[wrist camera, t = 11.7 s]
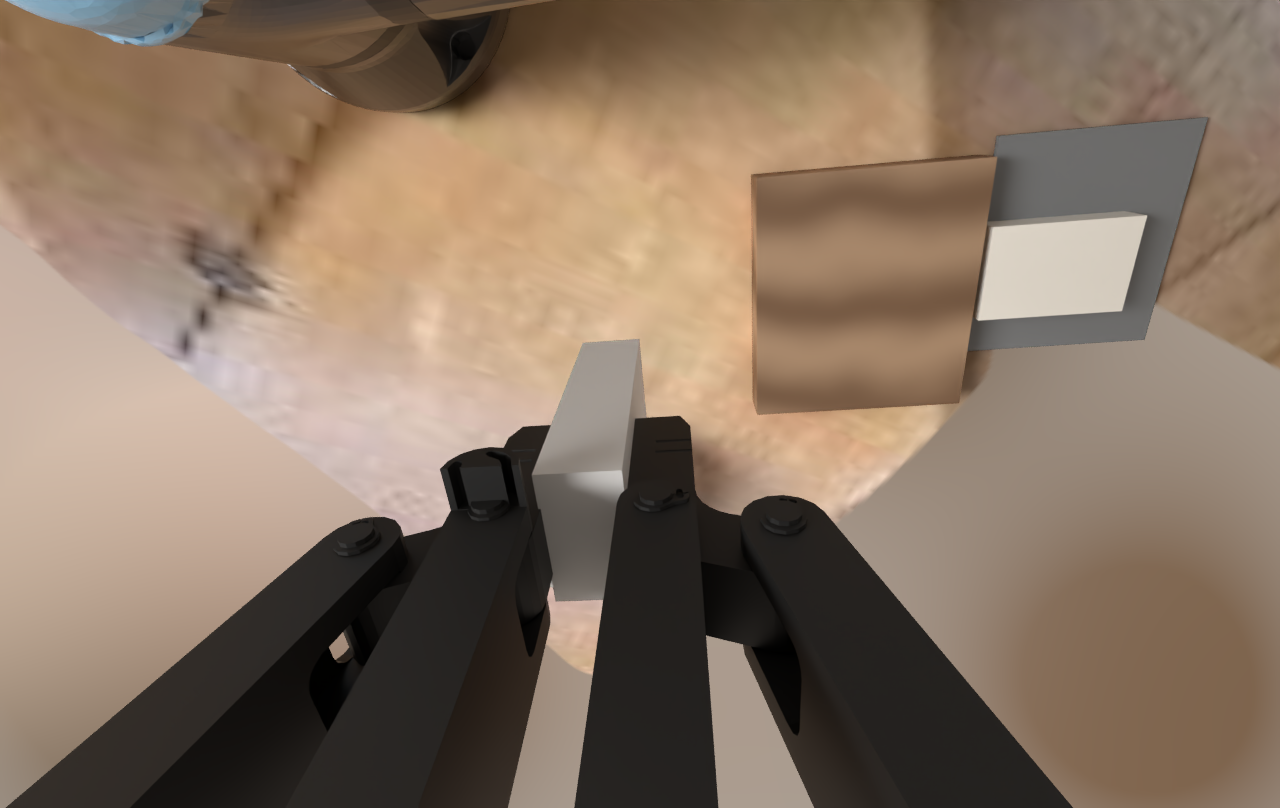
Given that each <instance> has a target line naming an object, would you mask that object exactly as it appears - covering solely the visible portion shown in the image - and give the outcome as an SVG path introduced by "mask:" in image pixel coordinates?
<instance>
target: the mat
mask: <svg viewBox="0 0 1280 808" xmlns="http://www.w3.org/2000/svg"><path fill="white" fill-rule="evenodd" d="M1207 119H1208V117H1203V118H1191V119H1180V120H1169V121H1158V122H1147V123H1136V124H1124V125H1113V126H1102V127H1091V128H1080V129H1069V130H1057V131H1046V132H1035V133H1024V134H1013V135H1002V136H997V137H996V143H995V150H994V157H997V163H996V169H995V176H994V182H993V189H992V195H991V201H990V208H989V214H988V221H987V222H990V221H1003V220H1016V219H1029V218H1042V217H1054V216H1067V215H1080V214H1093V213H1106V212H1118V211H1127V212H1132V213H1138V214H1143V215H1147V219H1146V222H1145V226H1144V230H1143V234H1142V237H1141V241H1140V245H1139V249H1138V253H1137V256H1136V260H1135V264H1134V268H1133V271H1132V275H1131V279H1130V283H1129V287H1128V290H1127V294H1126V298H1125V302H1124V305H1123V309H1122V311H1116V312H1100V313H1085V314H1070V315H1055V316H1040V317H1025V318H1010V319H995V320H980V321H978V320H977V319H975V318H973V317H972V324H971V330H970V337H969V343H968V350H967V351H976V350H991V349H1007V348H1022V347H1038V346H1054V345H1069V344H1085V343H1100V342H1115V341H1132V340H1144V339H1145V336H1146V333H1147V329H1148V325H1149V322H1150V319H1151V315H1152V312H1153V308H1154V305H1155V301H1156V298H1157V294H1158V291H1159V287H1160V284H1161V280H1162V277H1163V273H1164V270H1165V266H1166V263H1167V259H1168V256H1169V252H1170V249H1171V245H1172V242H1173V238H1174V235H1175V231H1176V228H1177V224H1178V221H1179V217H1180V214H1181V210H1182V207H1183V203H1184V200H1185V196H1186V193H1187V189H1188V186H1189V182H1190V179H1191V175H1192V172H1193V168H1194V165H1195V161H1196V158H1197V154H1198V151H1199V147H1200V144H1201V140H1202V137H1203V133H1204V130H1205V126H1206V123H1207Z"/></svg>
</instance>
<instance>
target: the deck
mask: <svg viewBox="0 0 1280 808" xmlns="http://www.w3.org/2000/svg"><path fill="white" fill-rule="evenodd" d="M996 163H997V157H994V156H983V155H971V156H959V157H948V158H936V159H925V160H914V161H902V162H891V163H879V164H868V165H857V166H845V167H834V168H822V169H811V170H799V171H788V172H777V173H765V174H754V175H751V198H752V357H753V403H754V406H755V409H756V412H757V415H763V414H780V413H797V412H815V411H832V410H849V409H867V408H884V407H901V406H919V405H936V404H953V403H959V401H960V395H961V388H962V382H963V375H964V369H965V362H966V356H967V350H968V343H969V337H970V330H971V324H972V317H973V311H974V305H975V298H976V292H977V285H978V279H979V272H980V266H981V259H982V253H983V247H984V240H985V234H986V227H987V221H988V214H989V208H990V201H991V195H992V189H993V182H994V176H995V169H996Z"/></svg>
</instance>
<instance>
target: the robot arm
mask: <svg viewBox="0 0 1280 808" xmlns="http://www.w3.org/2000/svg"><path fill="white" fill-rule="evenodd" d="M6 1H8V2H10V3H12V4H14V5H16V6H18V7H20V8H22V9H24V10H26V11H28V12H31V13H33V14H35V15H38V16H41V17H44V18H46V19H49V20H52V21H55V22H59V23H62V24H66V25H71V26H75V27H79V28H83V29H87V30H90V31H93V32H95V33H97V34H98V35H100V36H104V37H108V38H110V39H111V40H113V41H115V42H118V43H121V44H135V45H138V46H158V45H170V46H176V47H183V48H189V49H195V50H202V51H208V52H215V53H221V54H227V55H234V56H240V57H247V58H253V59H259V60H266V61H272V62H279V63H285V64H288V65H289V66H290V67H291V68H292V69H293V70H294V71H296V72H297V73H298V74H299V75H300V76H302V77H303V78H304V79H305V80H306V81H308V82H309V83H311V84H312V85H313V86H315V87H316V88H318V89H320V90H321V91H323V92H325V93H326V94H328V95H330V96H332V97H334V98H336V99H339V100H341V101H343V102H346V103H348V104H351V105H354V106H357V107H361V108H364V109H369V110H374V111H384V112H417V111H423V110H427V109H431V108H434V107H437V106H440V105H442V104H444V103H447V102H449V101H450V100H452V99H454V98H456V97H457V96H459V95H460V94H462V93H463V92H464V91H465V90H467V89H468V88H469V87H470V86H471V85H472V84H473V83H474V82H475V81H476V80H477V79H478V78H479V77H480V76H481V74H482V73H483V72H484V70H485V69H486V68H487V66H488V65H489V63H490V61H491V60H492V58H493V56H494V54H495V53H496V51H497V48H498V46H499V44H500V42H501V39H502V36H503V33H504V30H505V27H506V23H507V19H508V14H509V9H510V8H512V7H518V6H524V5H530V4H536V3H542V2H548V1H554V0H6ZM440 471H441V474H442V478H443V482H444V486H445V489H446V493H447V497H448V501H449V505H450V508H451V512H450V513H449V515H448V517H447V519H446V521H445V522H444V524H443V526H442V527H439V528H436V529H433V530H429V531H425V532H421V533H417V534H413V535H409V536H405V537H403V533H402V530H401V527H400V526H399V524H398V523H397V522H396V521H395V520H393V519H389V518H386V517H370V518H363V519H359V520H356V521H352V522H350V523H349V524H347V525H344V526H342V527H340V528H338V529H336V530H335V531H333V532H332V533H330V534H329V535H328V536H326V537H325V538H323V539H322V540H321V541H320V542H319V543H318V544H316V545H315V546H314V547H313V548H312V549H310V550H309V551H308V552H307V553H306V554H304V555H303V556H302V557H301V558H300V559H299V560H297V561H296V562H295V563H294V564H293V565H292V566H290V567H289V568H288V569H287V570H286V571H284V572H283V573H282V574H281V575H280V576H279V577H277V578H276V579H275V580H274V581H273V582H271V583H270V584H269V585H268V586H267V587H266V588H264V589H263V590H262V591H261V592H260V593H259V594H257V595H256V596H255V597H254V598H253V599H252V600H250V601H249V602H248V603H247V604H246V605H244V606H243V607H242V608H241V609H240V610H238V611H237V612H236V613H235V614H234V615H233V616H231V617H230V618H229V619H228V620H227V621H225V622H224V623H223V624H222V625H221V626H220V627H218V628H217V629H216V630H215V631H214V632H212V633H211V634H210V635H209V636H208V637H207V638H205V639H204V640H203V641H202V642H201V643H200V644H198V645H197V646H196V647H195V648H194V649H192V650H191V651H190V652H189V653H188V654H187V655H185V656H184V657H183V658H182V659H181V660H180V661H179V662H177V663H176V664H175V665H174V666H172V667H171V668H170V669H169V670H168V671H166V673H164V674H163V675H162V676H161V677H160V678H158V679H157V680H156V681H155V682H153V683H152V684H151V685H150V686H149V687H148V688H146V689H145V690H144V691H143V692H142V693H141V694H139V695H138V696H137V697H136V698H135V699H133V700H132V701H131V702H130V703H129V704H127V705H126V706H125V707H124V708H123V709H122V710H120V711H119V712H118V713H117V714H116V715H114V716H113V717H112V718H111V719H110V720H109V721H108V722H106V723H105V724H104V725H103V726H102V727H100V728H99V729H98V730H97V731H96V732H94V733H93V734H92V735H91V736H90V737H89V738H87V739H86V740H85V741H84V742H83V743H82V744H80V745H79V746H78V747H77V748H76V749H74V750H73V751H72V752H71V753H70V754H68V755H67V756H66V757H65V758H64V759H63V760H61V761H60V762H59V763H58V764H57V765H56V766H54V767H53V768H52V769H51V770H50V771H48V772H47V773H46V774H45V775H44V776H43V777H41V778H40V779H39V780H38V781H37V782H36V783H34V784H33V785H32V786H31V787H30V788H28V789H27V790H26V791H25V792H24V793H22V795H20V796H19V797H18V798H17V799H15V800H14V801H13V802H12V803H11V804H10V805H8V806H7V807H6V808H508V804H509V800H510V795H511V791H512V787H513V783H514V778H515V774H516V770H517V765H518V761H519V757H520V752H521V748H522V744H523V739H524V735H525V731H526V726H527V722H528V718H529V713H530V709H531V705H532V701H533V696H534V692H535V687H536V683H537V679H538V675H539V670H540V666H541V661H542V657H543V653H544V649H545V644H546V640H547V636H548V631H549V627H550V611H549V606H548V601H547V596H548V592H549V588H550V584H551V580H552V584H553V589H554V595H555V600H556V601H582V600H603V606H602V613H601V620H600V627H599V635H598V642H597V649H596V656H595V663H594V671H593V678H592V685H591V693H590V700H589V707H588V714H587V721H586V728H585V736H584V742H583V750H582V757H581V764H580V772H579V778H578V786H577V793H576V801H575V807H574V808H718V797H717V784H716V769H715V755H714V742H713V728H712V713H711V701H710V685H709V672H708V658H707V644H706V635H707V636H711V637H715V638H719V639H723V640H727V641H731V642H735V643H740V644H743V647H744V652H745V656H746V658H747V660H748V662H749V665H750V667H751V669H752V671H753V673H754V676H755V678H756V680H757V682H758V684H759V687H760V689H761V691H762V693H763V695H764V698H765V700H766V702H767V704H768V707H769V709H770V711H771V713H772V715H773V718H774V720H775V722H776V724H777V726H778V728H779V731H780V733H781V735H782V737H783V740H784V742H785V744H786V746H787V749H788V751H789V753H790V755H791V757H792V760H793V762H794V764H795V766H796V768H797V771H798V773H799V775H800V777H801V779H802V782H803V784H804V786H805V788H806V790H807V793H808V795H809V797H810V799H811V802H812V804H813V806H814V808H1073V807H1072V806H1071V805H1070V804H1069V802H1068V801H1067V800H1066V799H1065V798H1064V796H1063V795H1062V794H1061V793H1060V792H1059V791H1058V789H1057V788H1056V787H1055V786H1054V785H1053V783H1052V782H1051V781H1050V780H1049V779H1048V777H1047V776H1046V775H1045V774H1044V773H1043V771H1042V770H1041V769H1040V768H1039V767H1038V766H1037V764H1036V763H1035V762H1034V761H1033V760H1032V758H1031V757H1030V756H1029V755H1028V754H1027V753H1026V751H1025V750H1024V749H1023V748H1022V746H1021V745H1020V744H1019V743H1018V742H1017V741H1016V739H1015V738H1014V737H1013V736H1012V735H1011V734H1010V732H1009V731H1008V730H1007V729H1006V727H1005V726H1004V725H1003V724H1002V723H1001V721H1000V720H999V719H998V718H997V717H996V716H995V714H994V713H993V712H992V711H991V710H990V708H989V707H988V706H987V705H986V704H985V702H984V701H983V700H982V699H981V698H980V697H979V695H978V694H977V693H976V692H975V691H974V689H973V688H972V687H971V686H970V685H969V683H968V682H967V681H966V680H965V679H964V677H963V676H962V675H961V674H960V673H959V672H958V670H957V669H956V668H955V667H954V666H953V664H952V663H951V662H950V661H949V660H948V658H947V657H946V656H945V655H944V654H943V652H942V651H941V650H940V649H939V648H938V647H937V645H936V644H935V643H934V642H933V641H932V639H931V638H930V637H929V636H928V635H927V633H926V632H925V631H924V630H923V629H922V628H921V626H920V625H919V624H918V623H917V621H915V619H914V618H913V617H912V616H911V614H910V613H909V612H908V611H907V610H906V608H905V607H904V606H903V605H902V604H901V602H900V601H899V600H898V599H897V598H896V597H895V595H894V594H893V593H892V592H891V591H890V589H889V588H888V587H887V586H886V585H885V583H884V582H883V581H882V580H881V579H880V577H879V576H878V575H877V574H876V573H875V571H874V570H873V569H872V568H871V567H870V566H869V565H868V563H867V562H866V561H865V560H864V558H863V557H862V556H861V555H860V554H859V552H858V551H857V550H856V549H855V548H854V546H853V545H852V544H851V543H850V542H849V541H848V539H847V538H846V537H845V536H844V535H843V533H842V532H841V531H840V530H839V529H838V528H837V526H836V525H835V524H834V523H833V521H832V520H831V519H830V518H829V517H828V516H827V514H826V513H825V512H824V511H823V510H822V509H820V508H819V507H818V506H817V505H815V504H814V503H812V502H809V501H807V500H804V499H802V498H799V497H792V496H785V495H779V496H767V497H764V498H761V499H758V500H755V501H753V502H752V503H750V504H749V505H748V506H746V507H745V508H744V510H743V512H742V514H741V516H740V515H734V514H728V513H724V512H720V511H717V510H715V509H713V508H710V507H708V506H707V505H706V504H704V503H703V502H702V501H701V500H700V499H699V498H698V496H697V494H696V491H695V484H694V471H693V457H692V444H691V431H690V425H689V424H688V423H687V422H686V421H685V420H684V419H683V418H682V417H681V416H669V417H652V418H646V407H645V396H644V385H643V374H642V364H641V353H640V342H639V339H632V340H617V341H603V342H588V343H583V344H582V347H581V349H580V352H579V354H578V357H577V360H576V362H575V365H574V367H573V370H572V372H571V375H570V378H569V380H568V383H567V385H566V388H565V390H564V393H563V396H562V398H561V401H560V403H559V406H558V408H557V411H556V414H555V416H554V419H553V421H552V424H551V425H545V426H528V427H522V428H521V429H520V430H518V431H517V432H516V433H515V434H513V435H512V436H511V437H510V438H508V440H507V442H506V444H505V446H504V448H494V447H489V448H482V449H475V450H472V451H469V452H466V453H463V454H460V455H458V456H457V457H455V458H453V459H451V460H449V461H448V462H447V463H446V464H445V465H444V466H443V467H442V468H441V469H440ZM342 632H343V633H344V635H345V638H346V640H347V643H348V645H349V648H348V650H347V651H346V652H345V653H344V654H343V655H342V656H341V657H339V658H338V659H337V660H335V659H334V658H333V656H332V654H331V652H330V649H329V646H330V645H331V644H332V643H333V642H334V641H335V640H336V639H337V638H338V637H339V635H340V634H341V633H342Z"/></svg>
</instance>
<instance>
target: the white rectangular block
mask: <svg viewBox="0 0 1280 808" xmlns="http://www.w3.org/2000/svg"><path fill="white" fill-rule="evenodd" d="M1146 219H1147V215H1143V214H1138V213H1132V212H1127V211H1118V212H1106V213H1093V214H1080V215H1067V216H1054V217H1042V218H1029V219H1016V220H1003V221H990V222H987V227H986V234H985V240H984V247H983V253H982V259H981V266H980V272H979V279H978V285H977V292H976V298H975V305H974V311H973V318H975V319H977V320H978V321H980V320H995V319H1010V318H1025V317H1040V316H1055V315H1070V314H1085V313H1100V312H1116V311H1122V309H1123V305H1124V302H1125V298H1126V294H1127V290H1128V287H1129V283H1130V279H1131V275H1132V271H1133V268H1134V264H1135V260H1136V256H1137V253H1138V249H1139V245H1140V241H1141V237H1142V234H1143V230H1144V226H1145V222H1146Z"/></svg>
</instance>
